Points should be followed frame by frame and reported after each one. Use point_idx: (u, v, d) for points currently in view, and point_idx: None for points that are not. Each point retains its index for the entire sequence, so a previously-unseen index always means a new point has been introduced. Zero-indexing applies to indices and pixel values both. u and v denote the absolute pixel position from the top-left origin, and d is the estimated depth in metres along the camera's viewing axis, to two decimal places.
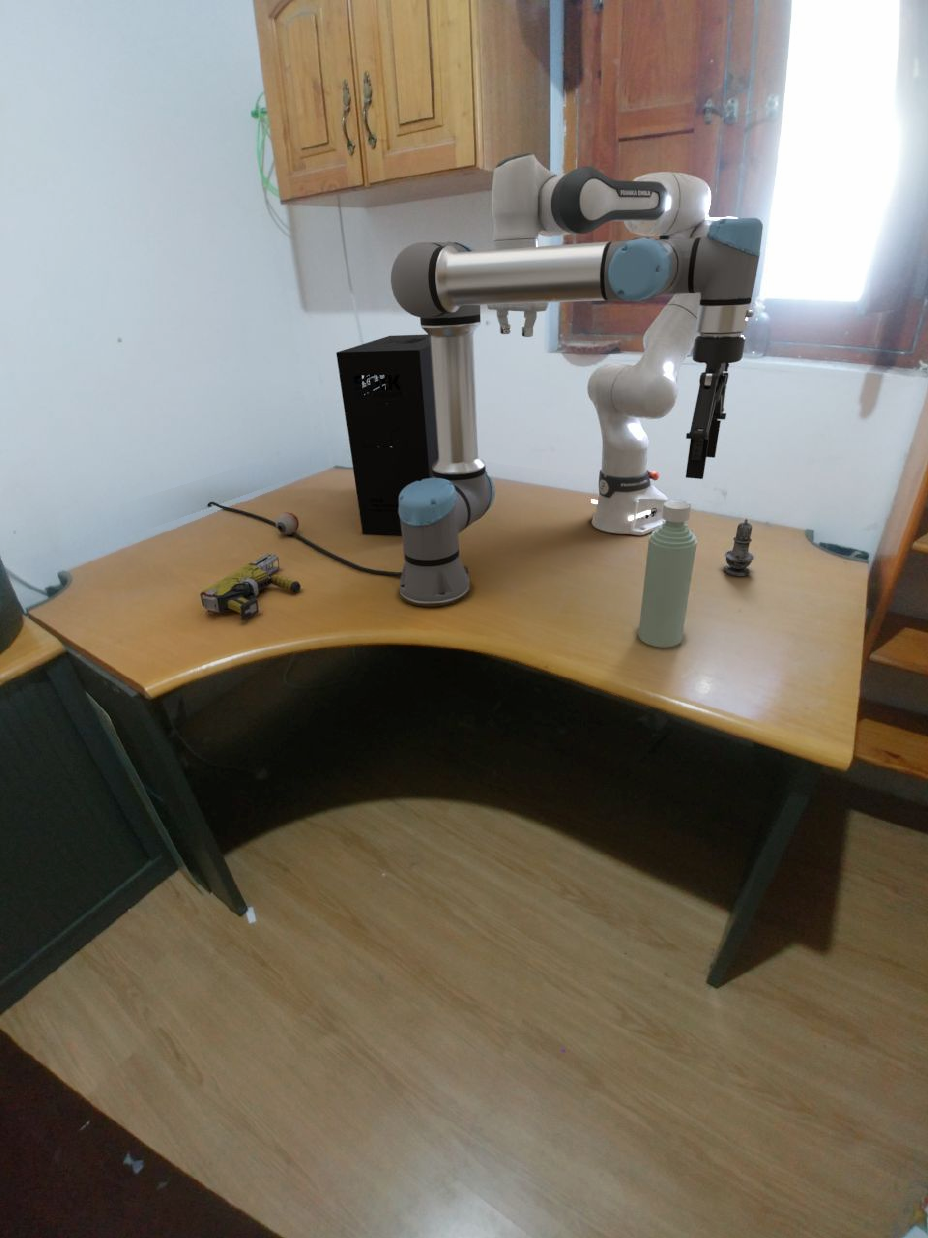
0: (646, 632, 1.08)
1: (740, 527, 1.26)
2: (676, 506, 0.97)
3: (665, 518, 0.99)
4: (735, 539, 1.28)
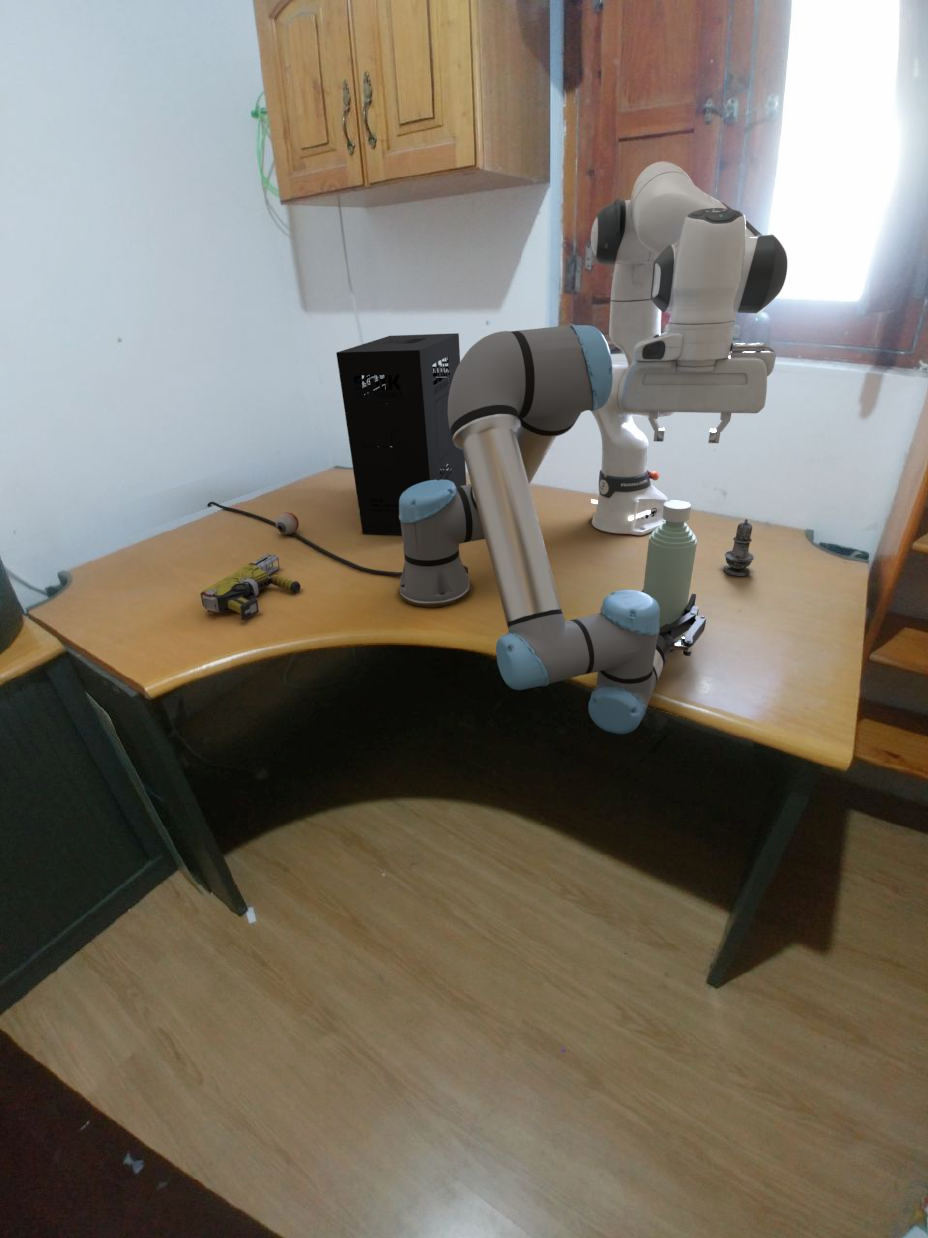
0: None
1: (740, 527, 1.26)
2: (676, 506, 0.97)
3: (665, 518, 0.99)
4: (735, 539, 1.28)
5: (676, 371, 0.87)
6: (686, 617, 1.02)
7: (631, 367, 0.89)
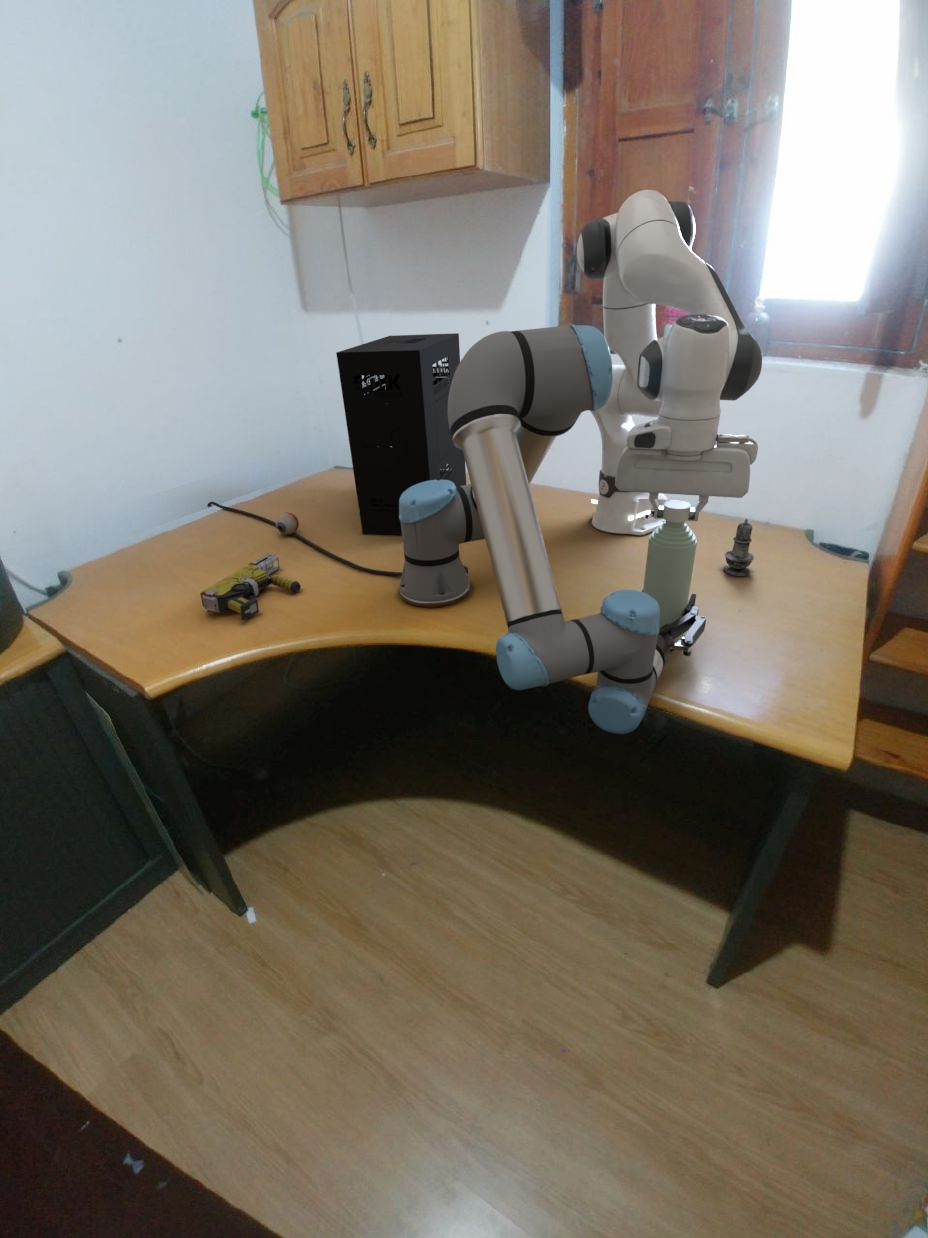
0: None
1: (740, 527, 1.26)
2: (676, 506, 0.97)
3: (665, 518, 0.99)
4: (735, 539, 1.28)
5: (666, 458, 0.94)
6: (686, 617, 1.02)
7: (624, 453, 0.95)
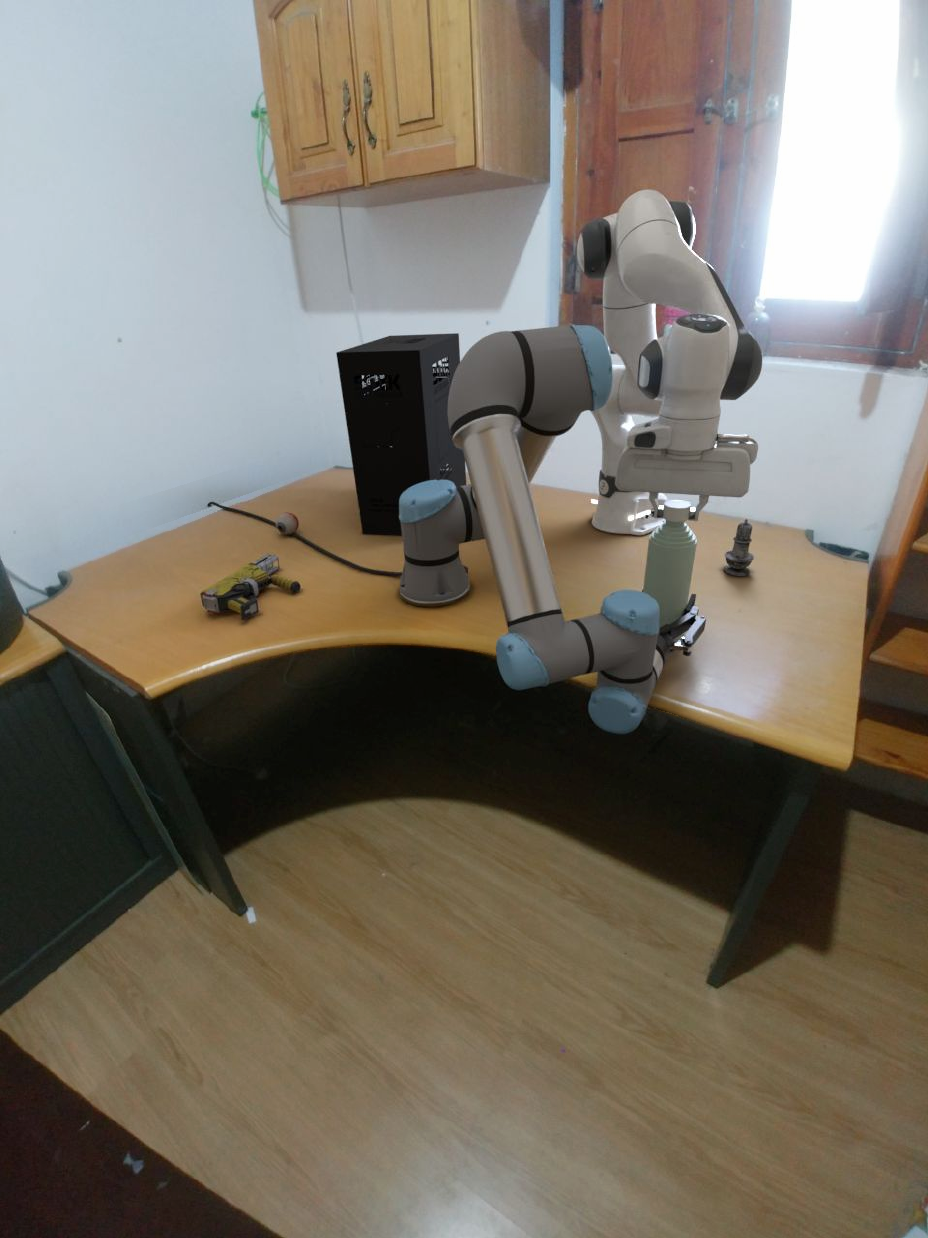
0: None
1: (740, 527, 1.26)
2: (684, 504, 0.98)
3: (683, 520, 0.98)
4: (735, 539, 1.28)
5: (666, 457, 0.94)
6: (686, 617, 1.02)
7: (624, 453, 0.95)
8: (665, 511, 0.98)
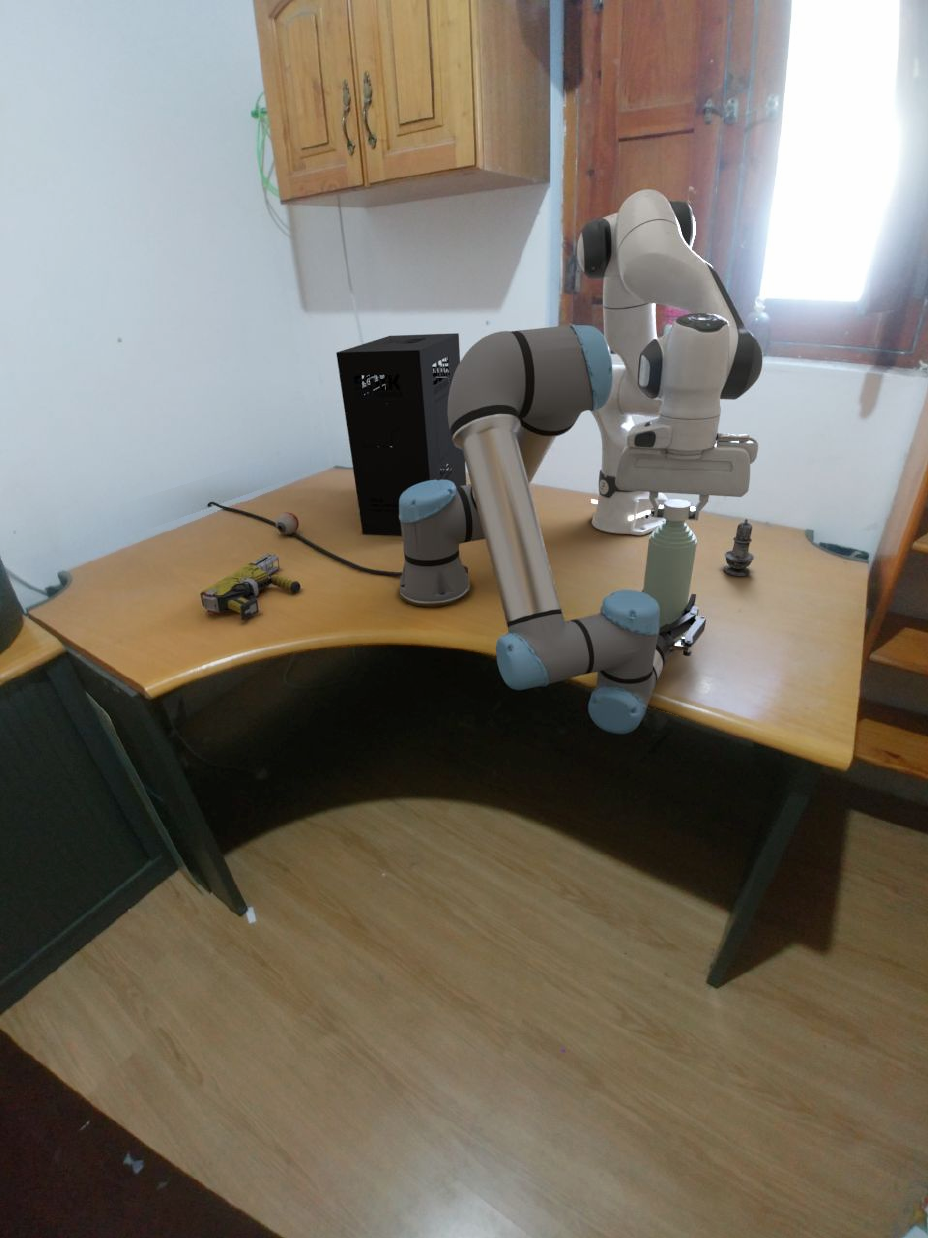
0: None
1: (740, 527, 1.26)
2: (679, 501, 0.99)
3: None
4: (735, 539, 1.28)
5: (666, 457, 0.94)
6: (686, 617, 1.02)
7: (624, 452, 0.95)
8: (683, 513, 0.97)
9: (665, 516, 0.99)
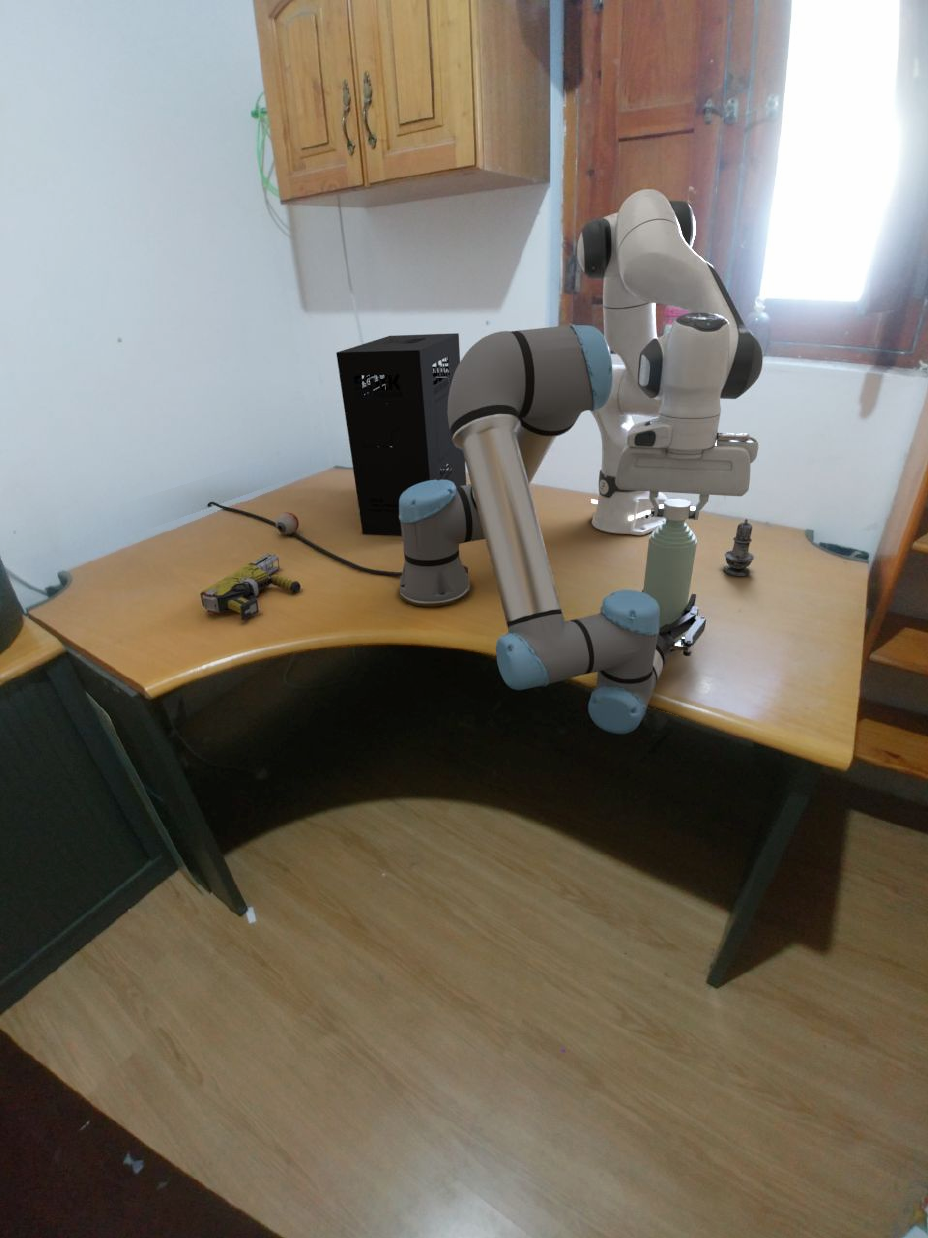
0: None
1: (740, 527, 1.26)
2: (671, 501, 0.99)
3: None
4: (735, 539, 1.28)
5: (666, 456, 0.94)
6: (686, 617, 1.02)
7: (624, 452, 0.95)
8: None
9: (683, 517, 0.97)
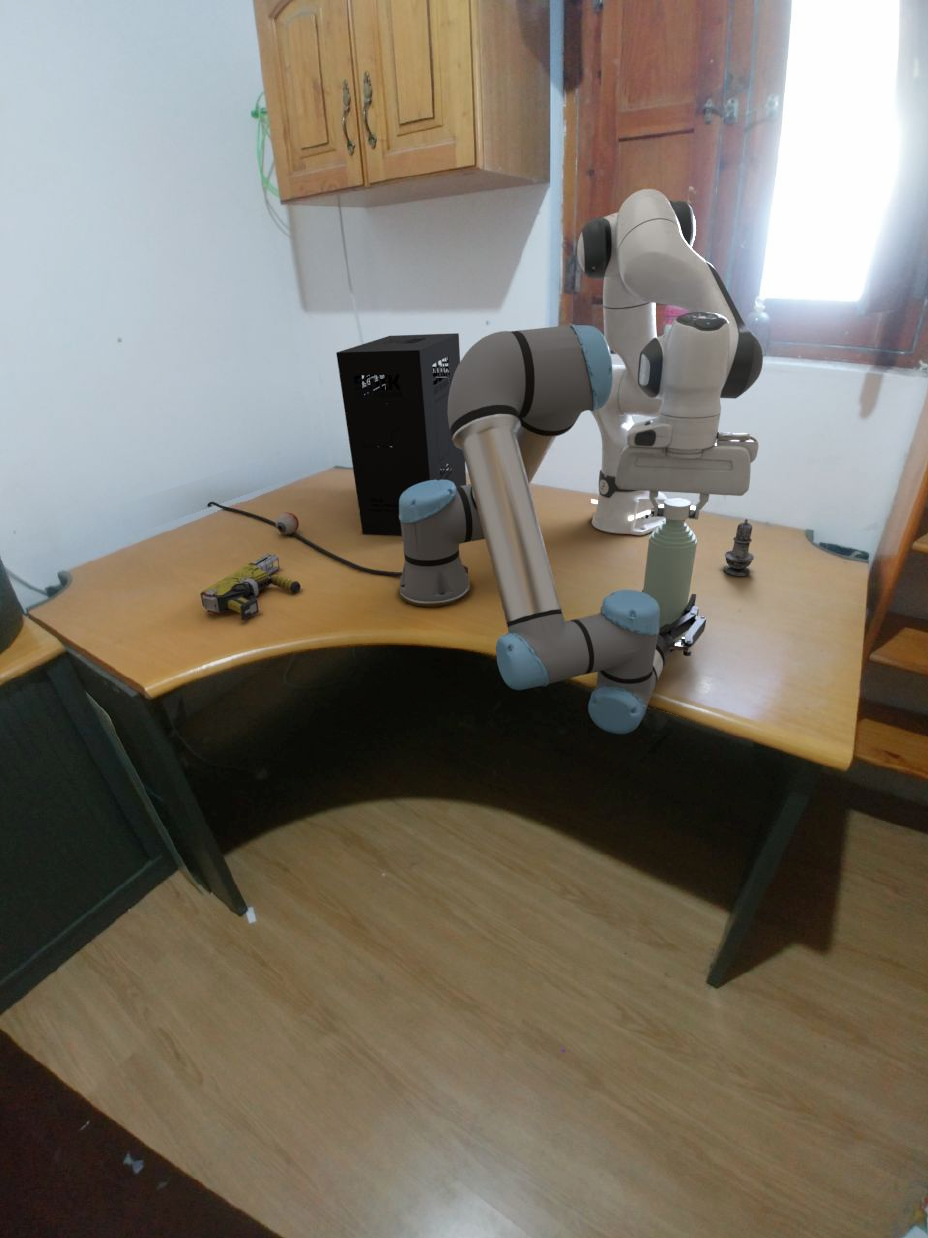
0: None
1: (740, 527, 1.26)
2: (675, 504, 0.97)
3: (664, 515, 0.99)
4: (735, 539, 1.28)
5: (666, 456, 0.93)
6: (686, 617, 1.02)
7: (624, 451, 0.95)
8: None
9: None
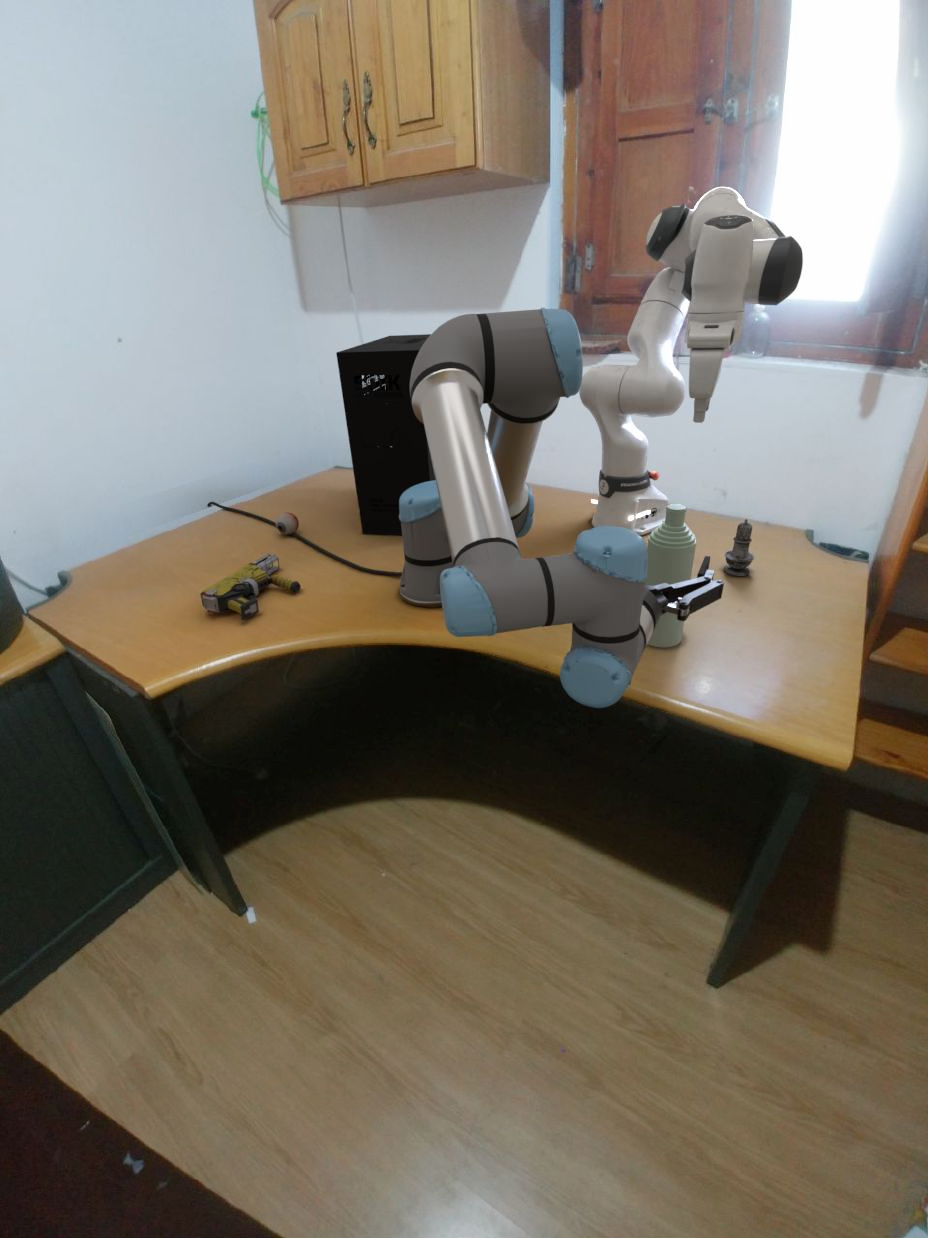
0: None
1: (740, 527, 1.26)
2: None
3: None
4: (735, 539, 1.28)
5: None
6: (696, 581, 0.84)
7: (722, 355, 0.95)
8: None
9: None
